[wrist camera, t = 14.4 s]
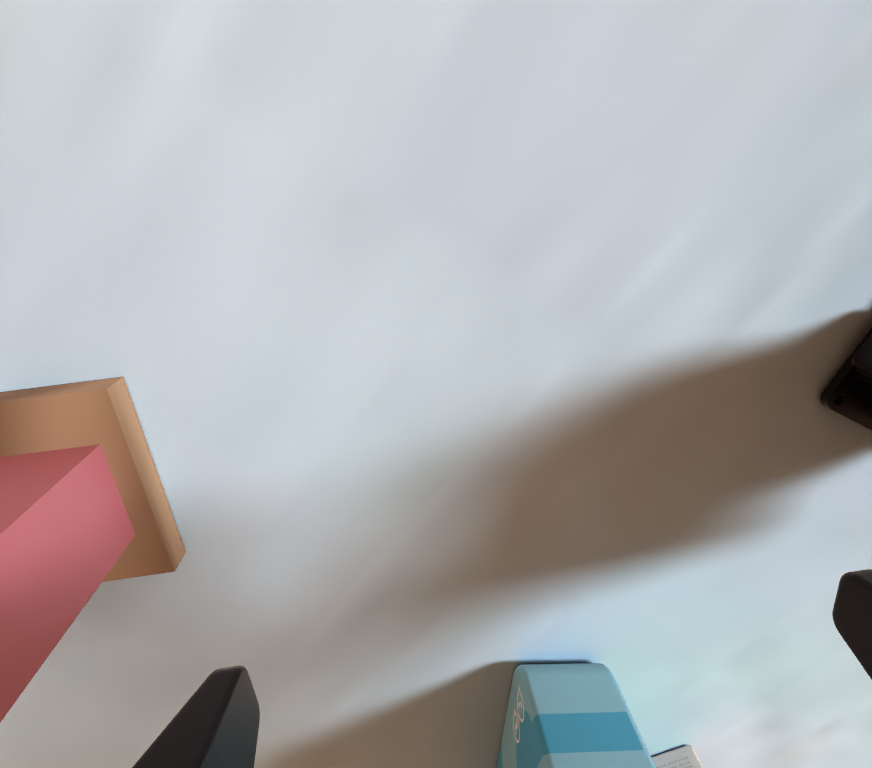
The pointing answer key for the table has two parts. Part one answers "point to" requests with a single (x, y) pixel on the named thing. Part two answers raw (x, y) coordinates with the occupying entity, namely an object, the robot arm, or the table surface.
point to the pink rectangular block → (52, 552)
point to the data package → (569, 720)
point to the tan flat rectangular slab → (124, 451)
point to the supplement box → (678, 759)
